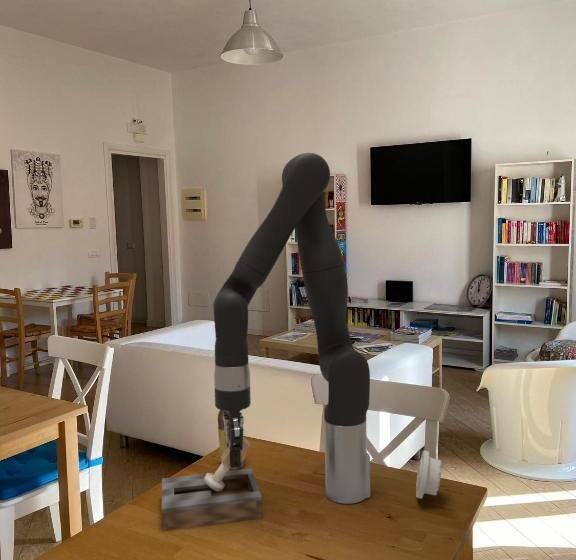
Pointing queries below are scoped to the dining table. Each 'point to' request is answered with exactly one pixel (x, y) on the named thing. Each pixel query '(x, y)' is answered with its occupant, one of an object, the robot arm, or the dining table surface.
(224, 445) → the sauce bottle
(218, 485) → the keyhole peg
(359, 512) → the dining table surface
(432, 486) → the mechanical component
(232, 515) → the keyhole plate
